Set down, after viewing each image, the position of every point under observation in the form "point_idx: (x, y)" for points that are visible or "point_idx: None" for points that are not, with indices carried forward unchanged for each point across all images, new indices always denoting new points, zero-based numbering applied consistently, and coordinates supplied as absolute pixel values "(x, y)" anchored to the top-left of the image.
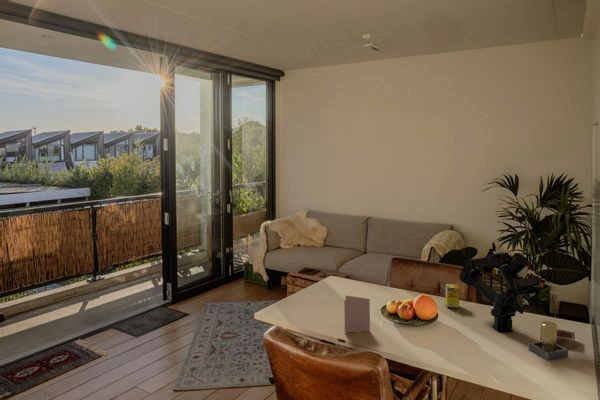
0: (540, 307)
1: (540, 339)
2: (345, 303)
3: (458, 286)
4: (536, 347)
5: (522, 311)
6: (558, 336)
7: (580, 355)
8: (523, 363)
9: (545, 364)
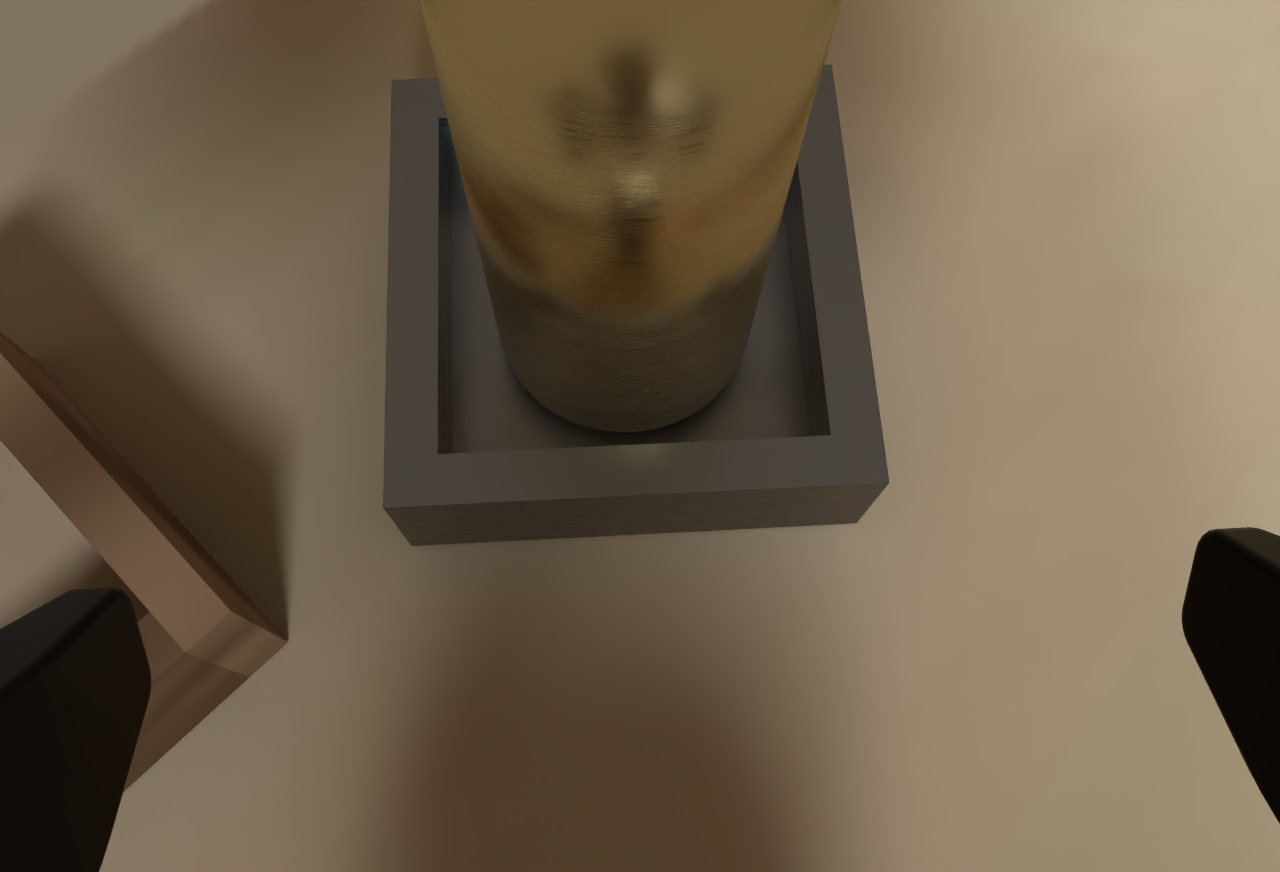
0: (30, 639)
1: (759, 276)
2: None
3: None
4: (860, 303)
5: (1278, 548)
6: (70, 518)
7: (173, 157)
8: (1222, 184)
9: (918, 84)
